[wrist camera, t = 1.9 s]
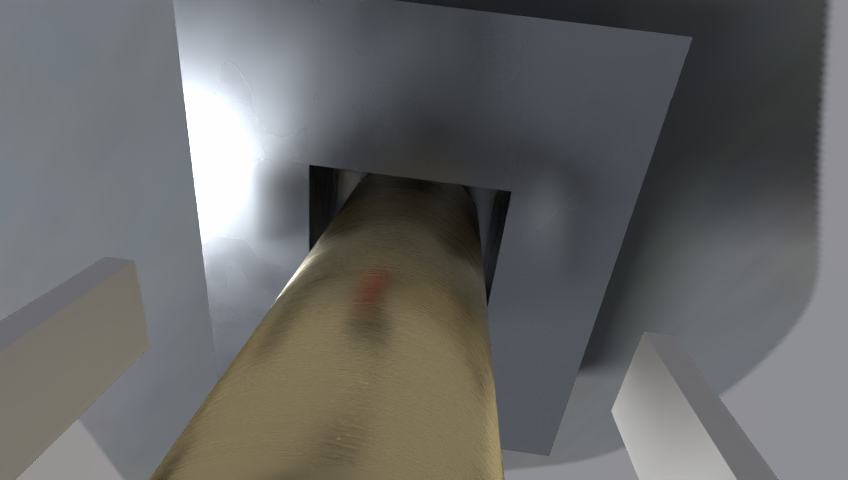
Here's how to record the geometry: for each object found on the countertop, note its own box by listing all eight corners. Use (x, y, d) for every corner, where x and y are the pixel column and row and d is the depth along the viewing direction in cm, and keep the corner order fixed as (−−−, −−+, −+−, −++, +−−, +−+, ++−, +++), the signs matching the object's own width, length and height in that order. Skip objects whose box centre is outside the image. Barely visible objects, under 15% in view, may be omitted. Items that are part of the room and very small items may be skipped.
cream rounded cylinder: (345, 154, 17) (70, 430, 5) (490, 173, 17) (564, 503, 5) (341, 279, 19) (149, 667, 7) (467, 296, 19) (479, 718, 7)
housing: (244, -11, 16) (169, -28, 12) (631, 37, 15) (692, 36, 11) (264, 341, 23) (221, 408, 18) (532, 379, 22) (549, 455, 18)
